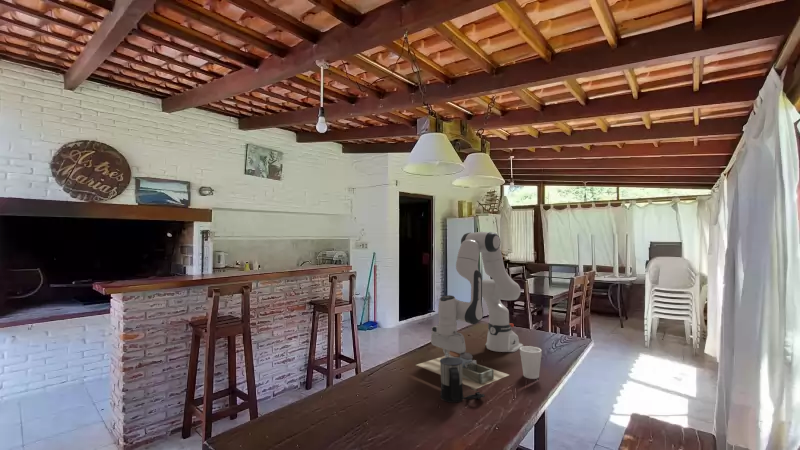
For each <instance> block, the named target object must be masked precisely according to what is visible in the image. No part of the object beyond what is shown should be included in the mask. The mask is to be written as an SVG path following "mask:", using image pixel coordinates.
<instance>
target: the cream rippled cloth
mask: <svg viewBox="0 0 800 450" xmlns="http://www.w3.org/2000/svg"><path fill="white" fill-rule="evenodd" d="M442 358H445V355H444V356H443V355H442V356H440V357H437V358H434V359H431V360H430V359H429V360H426V361H424V362H421V363H418V364H416V367H417V366H418V367H420V368H422V369H424V370H427V371H429V372H432V373H435V374H438V375H439V376H441V362H440V360H441V359H442ZM509 376H510V374H508V373H505V372H503V371H501V370H496V369H493V368H492V367H488V366H485V365H481V364H478V363H476V372H474V371H472V370H469V369H466V368H463V367H462V385H465V386H467V387H470V388H469V389H470V391H471V390H472V391H474V392H479V390H478V389H480V388H481V387H484V386H487V385H489V384H492V383H494V382H497V381H499V380H501V379H503V378H506V377H509Z"/></svg>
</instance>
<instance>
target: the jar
mask: <svg viewBox="0 0 800 450" xmlns="http://www.w3.org/2000/svg"><path fill="white" fill-rule="evenodd" d="M448 353H449V357H454V358H459V359H460V354H459V353H456V352H453V351H449V352H448Z"/></svg>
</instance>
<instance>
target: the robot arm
mask: <svg viewBox="0 0 800 450" xmlns="http://www.w3.org/2000/svg"><path fill="white" fill-rule="evenodd" d="M500 245H501V237H500V236H499V235H498V233H496V232H492V231H478V232H477V231H475V232H467V233H464V234H463V236H462V237H461V239H460V247H459V249H458V254H457V256H456V262H455V269H456V271H457V273H458V275H460V276H461V277H462V278H464V279H466V280H467V281H468V282H469V283H470V301H462V300H458V299H457V298H456V297H455V296H454V295H451V294H449V295H443V296H441V297H440V298H439V301H438V308H437V309H438V324H437V325H435V326H431V328H430V330H431V334H430V342H431V345H432V346H434V347H437V348H440V349H442V351H443V354H444V356H445V358H446V357H449V351H453V352H456V353H459V354H462V353H464V352H467V350H466V349H467V348H466V347H467V346H466V342H465V336H464V334H463V333H461V332H458V331H457V330H458V327H457V326H458V325H457V321H459V322H465V323H468V324H471V325H476V324H479V322H481V320H482V319H483V317H484V310H483V300H484V302H485V303H486V306H487V310H488V327H487V328H488V330H487V334H486V335H487V336H486V337H487V338H486V343H485V346H486V349H487V350H490V351H493V352H497V353H498V352H499V353H501V352H502V353H515V352H516V351H518V350H520V347H524V344H523V343H521V342H520V340H519V336H518V334H516V332H514V331H513V330H512V328H514V325H515V324H514V323H510V312H509V309H508V308H507V307H506V306H505V305H504V304H503V303H502V301H516V300H518V299H519V298H520V296H521V292H522V291H521V287H520V284H518V283H517V282H516V281H515V280H514V279H513V278H512V277H511V276H510V275H509V274H508V272H507V270H506V268H505V263H504V259H503V254H502V250H501V248H500V247H501V246H500ZM480 253H481V259H482V265H483V268H484V269H483V270H484V273H485V274H486V275H487V276H488V277H490V278H488V279H487V278H486V279H483V277H482V276H483V275H482V273H481V272H480V270H479V261H480V258H479V257H480ZM501 300H502V301H501Z"/></svg>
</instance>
